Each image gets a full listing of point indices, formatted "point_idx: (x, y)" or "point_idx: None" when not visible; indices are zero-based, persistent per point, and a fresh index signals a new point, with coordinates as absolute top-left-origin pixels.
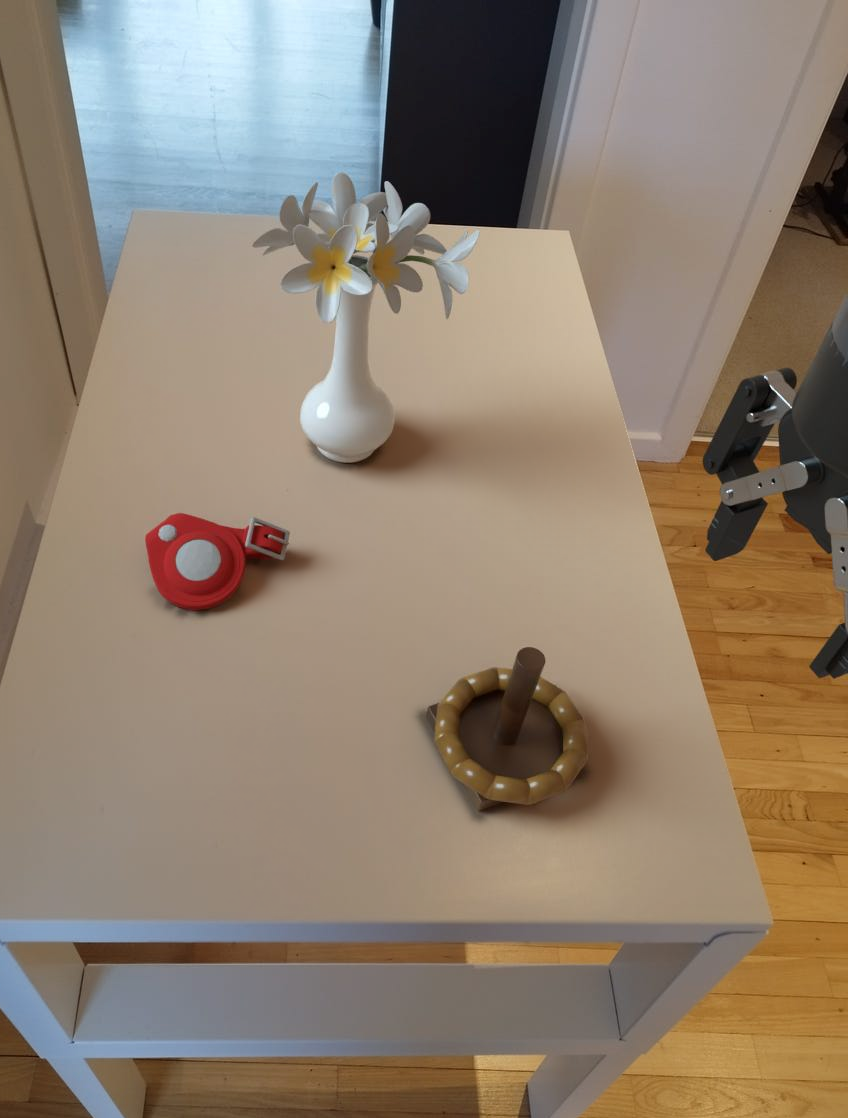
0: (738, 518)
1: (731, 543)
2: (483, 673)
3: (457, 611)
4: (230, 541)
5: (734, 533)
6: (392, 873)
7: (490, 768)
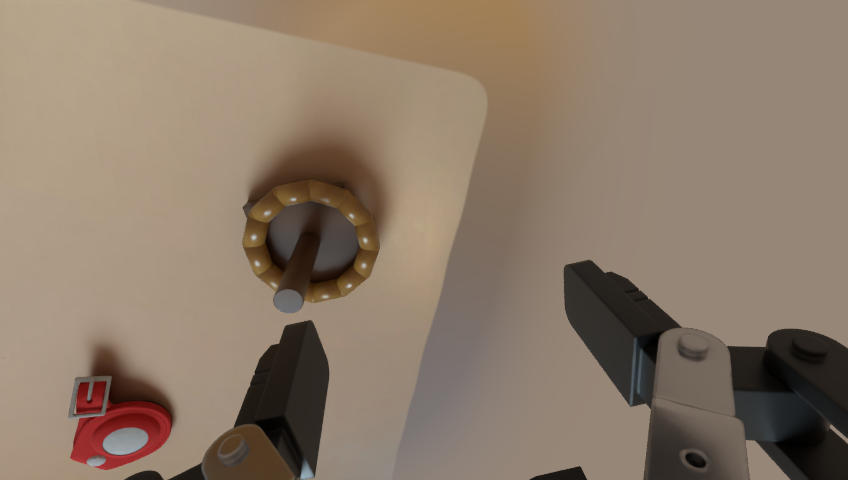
0: (311, 447)
1: (316, 372)
2: (251, 258)
3: (158, 238)
4: (99, 421)
5: (315, 402)
6: (403, 325)
7: (340, 260)
